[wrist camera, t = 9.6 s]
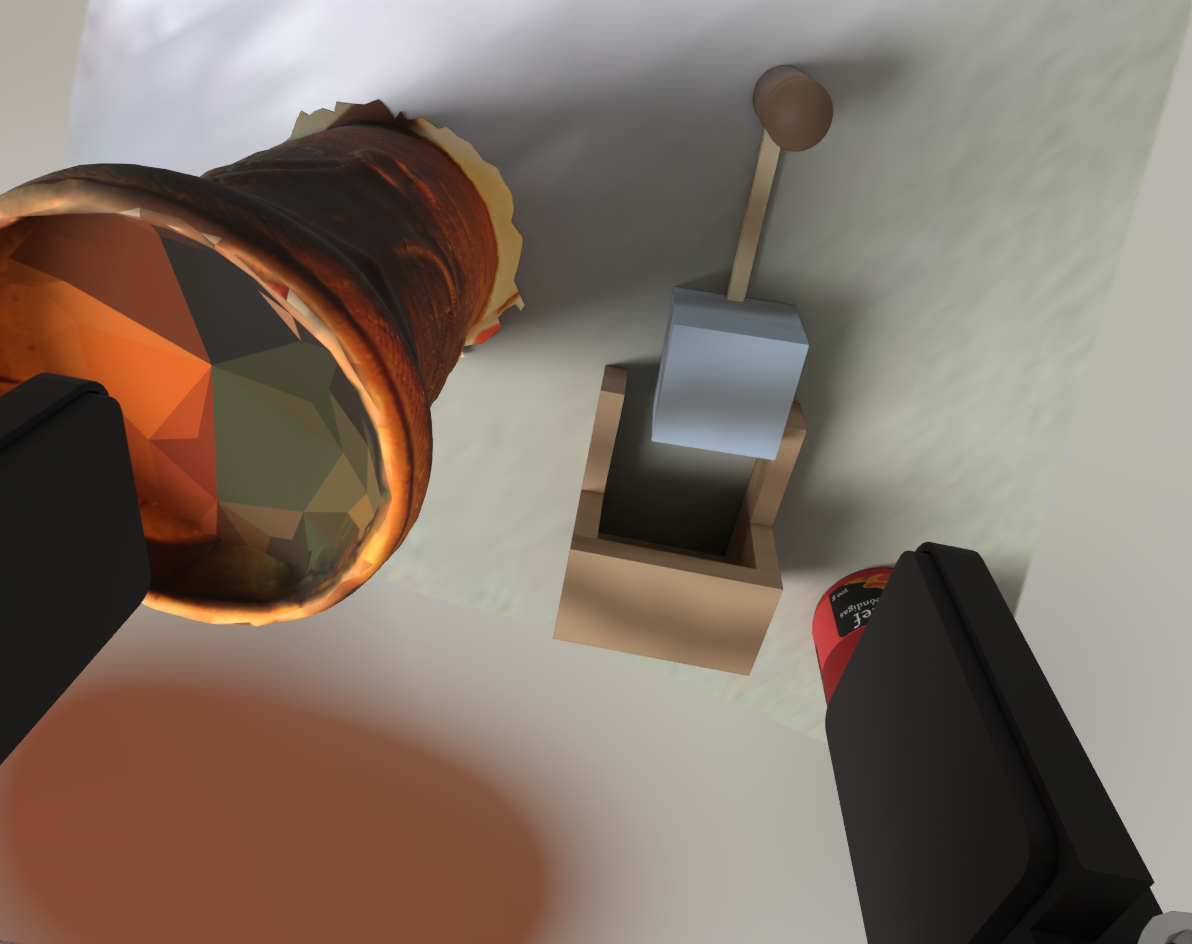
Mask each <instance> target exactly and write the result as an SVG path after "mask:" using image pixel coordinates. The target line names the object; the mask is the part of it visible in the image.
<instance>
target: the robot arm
mask: <svg viewBox="0 0 1192 944" xmlns="http://www.w3.org/2000/svg"><path fill="white" fill-rule="evenodd" d="M150 582H151V569H150V564H149V558H148V553H147V547H146V541H145V536H144V530H143V525H142V519H141V514H140V508H139V502H138V497H137V491H136V486H135V480H134V475H133V469H132V464H131V458H130V452H129V447H128V441H127V436H126V430H125V425H124V419H123V413H122V409H121V406H120V404H119V402H118V401H117V400H116V399H114V398H113V397H110V396H109V393H108V391H107V390H106V388H105V387H104V386H103V385H102V384H100V383H98V382H97V381H91V380H86V379H81V378H76V377H71V376H65V375H60V374H55V373H46V372H43V373H40V374H38V375H35V376H33V377H32V378H30V379H28V380H27V381H25V382H23V383H22V384H20V385H18V386H17V387H15V388H13V389H12V390H10V391H8V392H7V393H5V394H3V395H2V396H0V765H1V764H2V763H3V762H4V760H5V759H6V758H7V757H8V756H9V755H10V753H11V752H12V751H13V750H14V749H15V748H16V746H17V745H18V744H19V743H20V742H21V741H22V740H23V739H24V737H25V736H26V735H27V734H28V733H29V732H30V730H31V729H32V728H33V727H34V726H35V724H37V722H38V721H39V720H40V719H41V718H42V717H43V715H44V714H45V713H46V712H47V711H48V710H49V709H50V707H51V706H52V705H53V704H54V703H55V702H56V700H57V699H58V698H59V697H60V696H61V695H62V694H63V693H64V691H65V690H66V689H67V688H68V687H69V686H70V684H71V683H72V682H73V681H74V680H75V679H76V677H77V676H78V675H79V674H80V673H81V672H82V671H83V669H84V668H85V667H86V666H87V665H88V664H89V663H90V662H91V660H92V659H93V658H94V657H95V656H96V654H97V653H98V652H99V651H100V650H101V649H102V647H104V645H105V644H106V643H107V642H108V641H109V640H110V639H111V637H112V636H113V635H114V634H115V633H116V632H117V630H118V629H119V628H120V627H121V626H122V625H123V623H124V622H125V621H126V620H127V619H128V618H129V617H130V615H131V614H132V613H133V612H134V611H135V610H136V609H137V607H138V606H139V605H140V604H141V603H142V601H143V600H144V598H145V596H146V594H147V592H148V590H149V586H150ZM825 728H826V735H827V740H828V745H829V750H830V755H831V760H832V765H833V770H834V775H835V780H836V785H837V790H838V796H839V800H840V806H841V811H842V816H843V820H844V826H845V831H846V836H847V841H848V846H849V851H850V856H851V861H852V866H853V871H854V876H855V881H856V886H857V891H858V896H859V901H860V906H861V911H862V916H863V921H864V926H865V932H866V937H867V942H868V944H1192V913H1187V912H1176V911H1170V912H1167V913H1164V914H1163V912H1162V910H1161V908H1160V906H1159V904H1158V903H1157V901H1156V899H1155V897H1154V895H1153V893H1152V891H1151V889H1150V886H1151V885H1152V884H1153V883H1154V881H1153V879H1152V877H1151V875H1150V873H1149V871H1148V869H1147V867H1146V865H1145V864H1144V862H1143V860H1142V858H1141V856H1140V854H1139V852H1138V850H1137V849H1136V847H1135V845H1134V843H1133V841H1132V839H1131V838H1130V835H1129V834H1128V832H1127V830H1126V828H1125V826H1124V824H1123V822H1122V820H1121V819H1120V817H1119V815H1118V813H1117V811H1116V809H1115V807H1114V805H1113V804H1112V802H1111V800H1110V798H1109V796H1108V794H1107V792H1106V790H1105V788H1104V787H1103V785H1102V783H1101V781H1100V779H1099V777H1098V775H1097V773H1096V771H1095V770H1094V768H1093V766H1092V764H1091V762H1090V760H1089V758H1088V756H1087V755H1086V753H1085V751H1084V749H1083V747H1082V745H1081V743H1080V741H1079V739H1078V738H1077V736H1076V734H1075V732H1074V730H1073V728H1072V727H1071V725H1070V723H1069V721H1068V719H1067V717H1066V715H1065V713H1064V711H1063V709H1062V708H1061V706H1060V704H1059V702H1058V700H1057V698H1056V696H1055V694H1054V692H1053V691H1052V689H1051V687H1050V685H1049V683H1048V681H1047V679H1046V677H1045V676H1044V674H1043V672H1042V670H1041V668H1040V666H1039V664H1038V662H1037V661H1036V659H1035V657H1034V655H1033V653H1032V651H1031V649H1030V648H1029V645H1028V644H1027V642H1026V640H1025V638H1024V636H1023V634H1022V632H1021V630H1020V629H1019V627H1018V625H1017V623H1016V621H1015V619H1014V617H1013V615H1012V613H1011V612H1010V610H1009V608H1008V606H1007V604H1006V602H1005V600H1004V598H1003V597H1002V595H1001V593H1000V591H999V589H998V587H997V585H996V583H995V582H994V580H993V578H992V576H991V574H990V572H989V570H988V568H987V566H986V565H985V563H984V561H983V559H982V557H981V556H980V555H979V554H978V552H975V551H973V550H968V549H963V548H958V547H953V546H947V545H942V544H937V543H932V542H925V543H923V544H921V545H920V546H919V547H918V548H917V550H916V551H915V552H914V551H909V550H908V551H905V552H904V553H903V554H902V555H901V556H900V558H899V559H898V561H897V563H896V565H895V567H894V569H893V571H892V573H891V575H890V577H889V580H888V582H887V584H886V586H885V588H884V590H883V592H882V594H881V596H880V598H879V600H878V602H877V604H876V606H875V608H874V610H873V612H872V614H871V616H870V619H869V621H868V623H867V625H866V627H865V629H864V631H863V633H862V635H861V637H860V639H859V641H858V643H857V645H856V647H855V649H854V651H853V653H852V655H851V658H850V660H849V662H848V664H847V666H846V668H845V670H844V672H843V674H842V676H841V678H840V680H839V682H838V684H837V686H836V688H835V690H834V692H833V694H832V697H831V699H830V701H829V704H828V707H827V711H826V719H825ZM0 944H19V943H13V942H8V941H3V940H0Z"/></svg>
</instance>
